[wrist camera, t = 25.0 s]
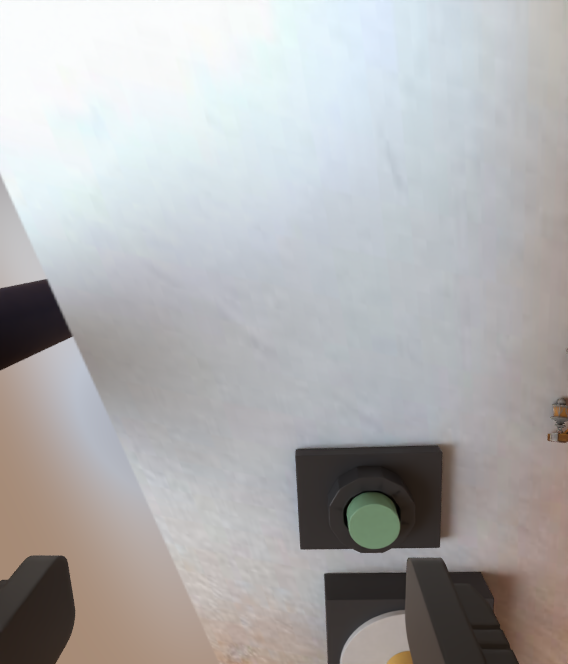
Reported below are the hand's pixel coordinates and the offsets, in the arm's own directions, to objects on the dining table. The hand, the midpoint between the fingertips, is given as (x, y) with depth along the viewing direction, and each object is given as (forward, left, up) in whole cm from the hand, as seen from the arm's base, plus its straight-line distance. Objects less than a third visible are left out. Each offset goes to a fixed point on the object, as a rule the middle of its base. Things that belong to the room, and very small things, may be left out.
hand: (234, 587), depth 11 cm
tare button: (+6, -15, -24) cm, 29 cm away
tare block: (+6, -15, -27) cm, 31 cm away
